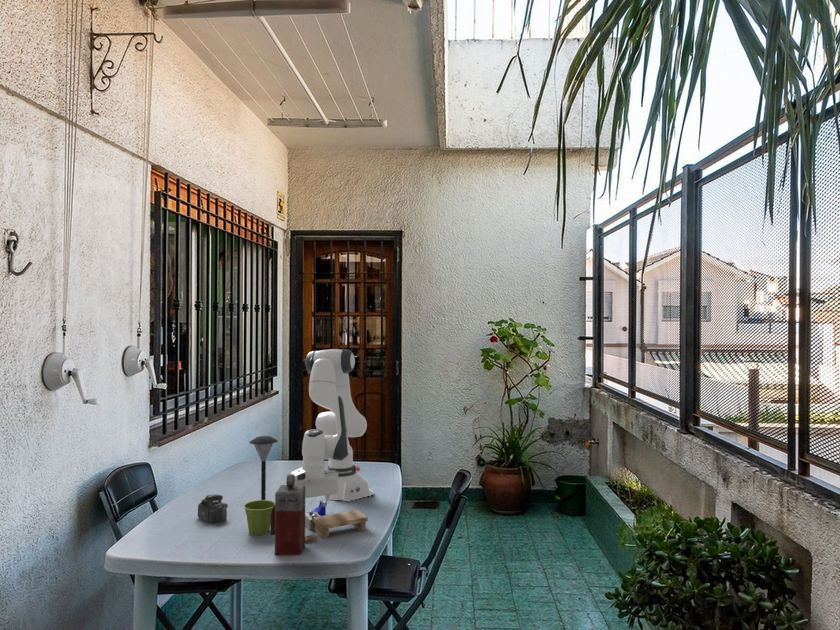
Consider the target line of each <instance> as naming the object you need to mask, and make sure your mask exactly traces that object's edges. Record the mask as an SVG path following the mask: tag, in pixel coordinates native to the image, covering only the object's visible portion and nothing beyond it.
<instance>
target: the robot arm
mask: <svg viewBox="0 0 840 630" xmlns="http://www.w3.org/2000/svg"><path fill="white" fill-rule="evenodd" d="M355 358H356V357H355V354H354V353H353V351H352V350H349V349H346V348H344V349H339V348H338V349H337V348H331V349H322V350H312V351H309V352H308V354H306V357H305V360H304V361H305V363H304V364H305V369H306V371H307V372H308V373H309V374H310V376H309V383H308V394H309V395H308V396H309V398H310V400H311V401H312V402H313V403H315V404H316V405H318V406H320V407H322V408H323V409H326V410H329V411H324V412H320V413H319V414H318V415H317V417H316V419H315V427H316V428H313V429H308V430H306V431H305V432H304V433H303V434H304V435H303V440H302V442H301V455H302V457H303V459H302V463H301V467H299V468H297V469H295V470H292V471H290V473H289V474H294V475H295V483H294V485H305V499H308V498H316V497H322V496H323V497H324V499H323V500H321V501H322V506H323V507H325V506H326V507H327V505H328V504H327V503H328V501H329V500H330V501H335V500H343V501H342V502H345V501H349V502H351V501H350V500H353V501H355V500H354V499H357V500H359V499H358V498H361V499H363V498H362V497H365V498H367V497H366V496H369V497H372V496H371V495H373V494H374V493H375V492H374V491H373V490H372V489H371V488H369V483H368V481H367V479H365V478H364V477H363V476H362V475H361V474H359V473H358V472H360V470H361V467H359V466H356V465H354V464H353V463H354V462H353V461H354V460H353V457H354V455H353V454H354V450H353V448H352V446H351V445H350V441H349V438H357V437H362V436H363V435H364V434H365V433H366V431H367V427H368V423H367V420H366V417H365V416H364V415H363V414H361V413H360V412H359V410H358V409H357V408H356V406H355V404H354V402H353V398H352V395H351V394H352V393H351V385H350V376H349V375H350V374H349V373H350V372H353V370H354V368H355V364H356V359H355ZM325 460H328V466H327V470H326V462H325ZM373 496H374V495H373Z"/></svg>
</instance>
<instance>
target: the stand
mask: <svg viewBox="0 0 840 630" xmlns="http://www.w3.org/2000/svg"><path fill="white" fill-rule="evenodd" d="M313 522H315V529H314V532H316V533H317V534H318V535H319V536H321V537H322V538H324V539H325V538H330V529H334V528H335V529H336V528H339V527H345V526H350V525H351V526H352V525H353V527H354V528H355V527H356V528H355V529H356V530H358V529H359V532H364V530H365V531H367V526H366V524H367V522H368V516H366V515H365V514H364V513H362V512H361V511H359V510H358V509H354V510H353V509H352V510H349V511H348V510H347V511H342V512H337V513H331V514H326V515H324V516H319V517H313Z"/></svg>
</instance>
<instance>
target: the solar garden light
mask: <svg viewBox="0 0 840 630" xmlns="http://www.w3.org/2000/svg"><path fill="white" fill-rule="evenodd" d="M278 442H279V440H278V439H276V438H274V437H273V436H270V435H261V436H256V437H255V438H252V439H251V440H249V442H248V443H249V444H251V445H254V448H255V450H256V452H257V455H258V457H259V459H260V460H261V474H260V475H261V476H260V477H261V479H260V482H261V484H260V485H261V489H260V491H261V492H260V493H261V494H260V495H261V496H260V498H261V499H260V500H266V491H267V490H266V488H267V487H266V485H267V483H266V479H267V477H266V475H267V473H266V469H267V468H266V466H267V465H266V462H267V458H268V456H269V454H270V451H271V449H272V447H273V445H274V444H275V443H278Z"/></svg>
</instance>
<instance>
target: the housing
mask: <svg viewBox="0 0 840 630" xmlns="http://www.w3.org/2000/svg"><path fill="white" fill-rule="evenodd" d="M319 516H320V515H319V514H318V513H317V512H313V510H309V511H308V512H305V528H306V529H308V530H309V531H315V522H313V517H319Z"/></svg>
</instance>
